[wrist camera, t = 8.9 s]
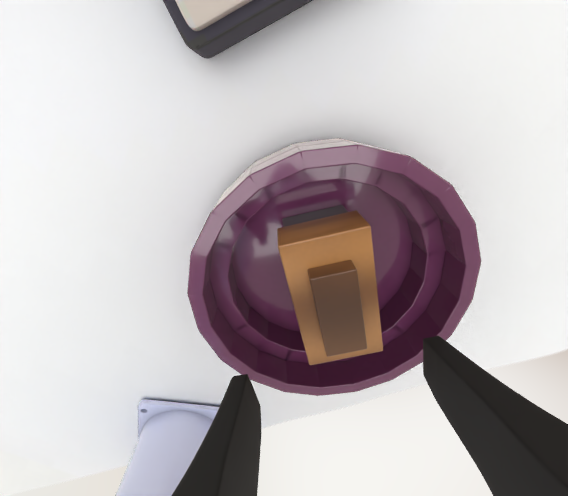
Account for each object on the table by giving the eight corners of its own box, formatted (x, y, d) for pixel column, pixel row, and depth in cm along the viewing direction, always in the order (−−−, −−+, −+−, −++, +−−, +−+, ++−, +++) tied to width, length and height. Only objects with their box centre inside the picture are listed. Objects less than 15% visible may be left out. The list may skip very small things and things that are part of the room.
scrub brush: (360, 303, 20) (390, 365, 15) (301, 315, 21) (311, 380, 15) (346, 198, 17) (379, 233, 12) (276, 214, 17) (278, 256, 12)
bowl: (385, 356, 23) (409, 406, 19) (197, 330, 22) (180, 380, 17) (477, 169, 17) (541, 186, 13) (220, 110, 15) (202, 108, 11)
